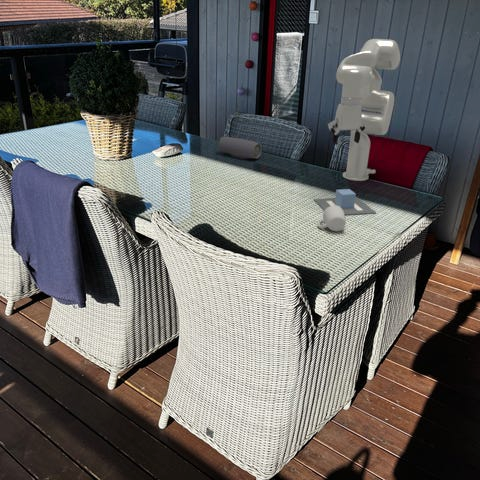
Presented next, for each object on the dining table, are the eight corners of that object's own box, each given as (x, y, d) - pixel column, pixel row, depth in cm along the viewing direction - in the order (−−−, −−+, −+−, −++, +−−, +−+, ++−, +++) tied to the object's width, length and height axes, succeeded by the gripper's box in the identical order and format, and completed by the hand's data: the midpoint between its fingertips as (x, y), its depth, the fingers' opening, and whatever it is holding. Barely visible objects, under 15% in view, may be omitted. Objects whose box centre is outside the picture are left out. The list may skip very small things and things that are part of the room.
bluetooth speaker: (261, 158, 262) (262, 140, 258) (253, 162, 255) (253, 144, 251) (227, 151, 273) (227, 134, 269) (217, 155, 266) (217, 137, 262)
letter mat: (356, 197, 212) (356, 196, 211) (376, 213, 196) (376, 212, 196) (313, 200, 207) (313, 199, 207) (330, 216, 192) (330, 215, 191)
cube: (347, 202, 205) (349, 189, 202) (354, 207, 200) (355, 194, 197) (334, 203, 203) (336, 189, 201) (340, 208, 198) (342, 194, 196)
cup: (316, 223, 176) (312, 213, 183) (323, 240, 180) (320, 229, 186) (343, 211, 173) (339, 201, 180) (351, 229, 177) (346, 218, 184)
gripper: (365, 98, 198) (360, 139, 206) (326, 100, 194) (322, 141, 202) (374, 102, 192) (368, 144, 200) (334, 104, 188) (330, 146, 196)
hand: (345, 142), depth 201 cm, fingers open, 9 cm apart
